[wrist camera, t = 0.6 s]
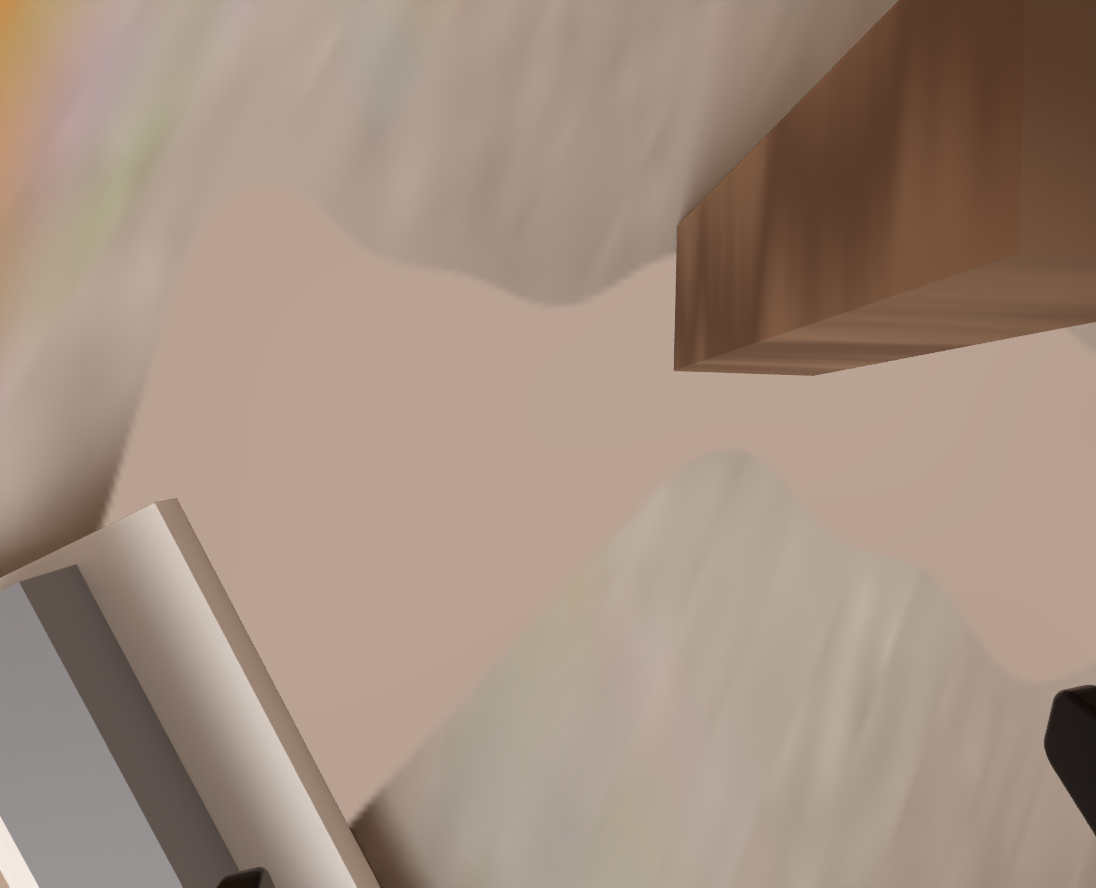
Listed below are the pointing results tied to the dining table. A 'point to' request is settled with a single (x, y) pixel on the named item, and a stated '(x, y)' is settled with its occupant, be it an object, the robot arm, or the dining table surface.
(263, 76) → the dining table surface
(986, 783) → the dining table surface
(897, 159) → the walnut baton
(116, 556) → the board
